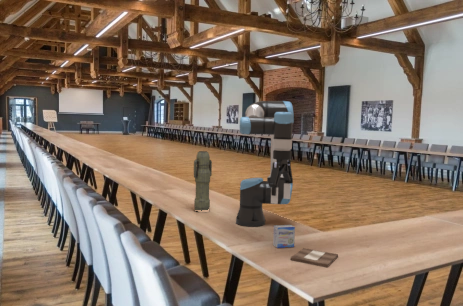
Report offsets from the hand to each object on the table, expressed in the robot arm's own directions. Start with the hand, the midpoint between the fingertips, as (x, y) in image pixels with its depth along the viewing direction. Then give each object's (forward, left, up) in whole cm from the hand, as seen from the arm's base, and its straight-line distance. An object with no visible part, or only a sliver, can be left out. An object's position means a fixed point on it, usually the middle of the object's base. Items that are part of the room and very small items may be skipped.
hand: (280, 201), depth 163 cm
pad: (+6, +17, -19) cm, 27 cm away
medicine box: (-2, +1, -19) cm, 20 cm away
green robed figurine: (-40, -66, -19) cm, 79 cm away
